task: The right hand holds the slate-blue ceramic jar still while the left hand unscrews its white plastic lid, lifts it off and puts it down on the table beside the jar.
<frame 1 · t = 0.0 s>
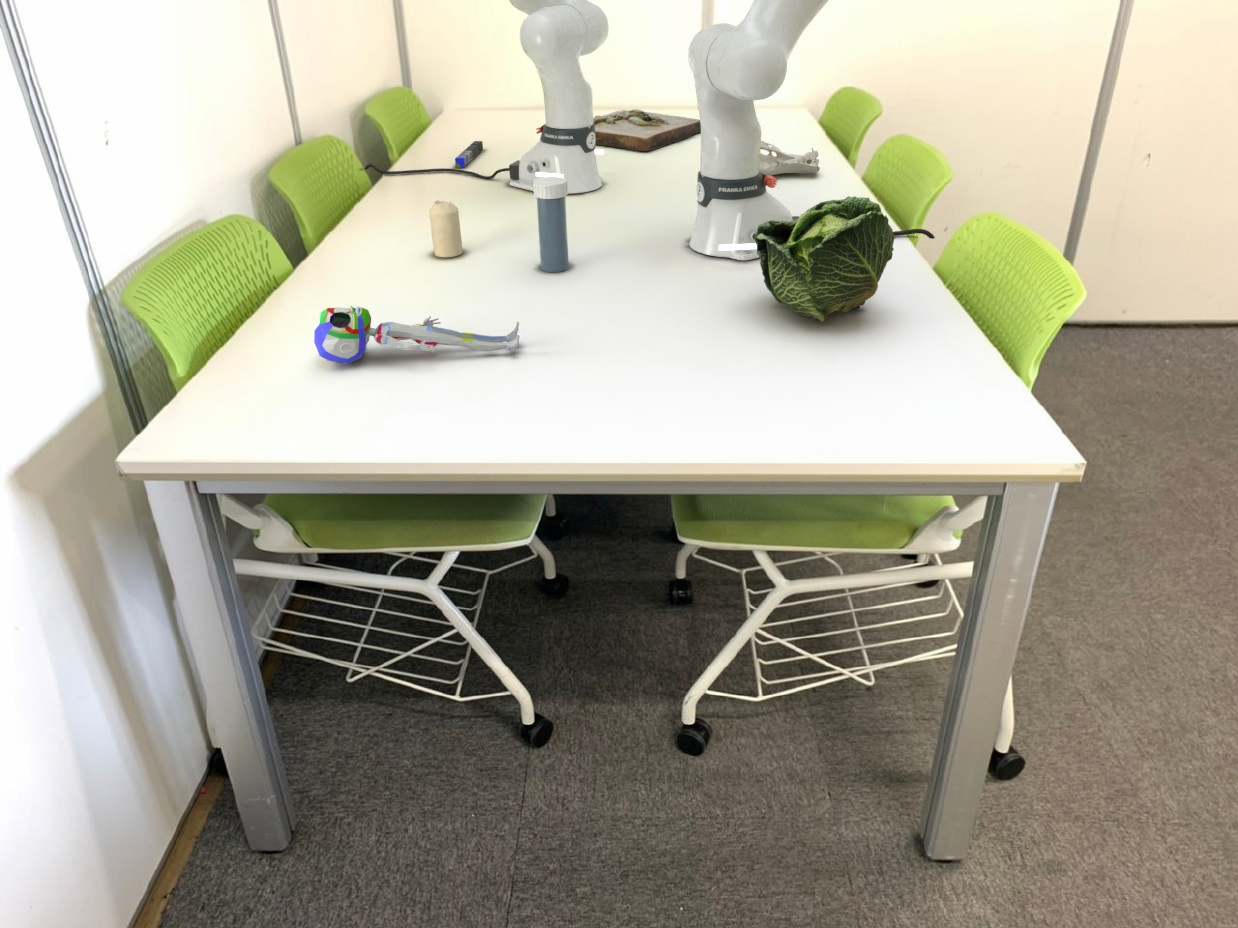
lid: (550, 183, 159), point 16 cm above the table, screwed on, not yet turned
jar: (554, 267, 168), on the table
vegetable: (819, 311, 148), on the table
anatomical model: (767, 173, 222), on the table
pillar: (469, 159, 239), on the table
candle: (448, 254, 175), on the table
toy: (421, 355, 136), on the table
plaque: (633, 136, 259), on the table
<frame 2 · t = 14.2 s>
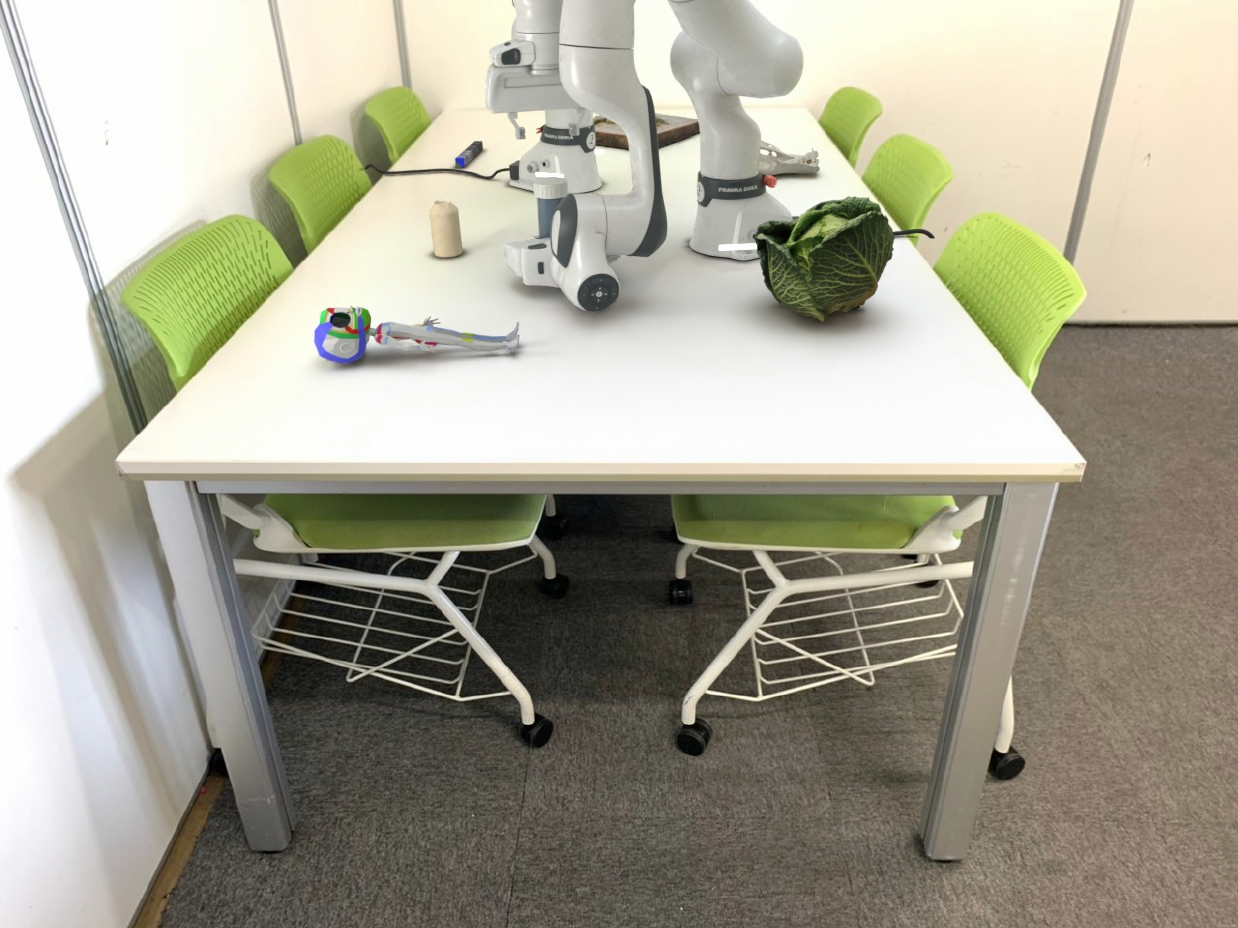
left hand: (547, 137, 155), 23 cm above the table, tool pointing down, fingers open, 8 cm apart
right hand: (551, 237, 165), 5 cm above the table, tool horizontal, fingers closed on jar, 5 cm apart
jar: (554, 267, 168), on the table, touching right hand
everything else where it was.
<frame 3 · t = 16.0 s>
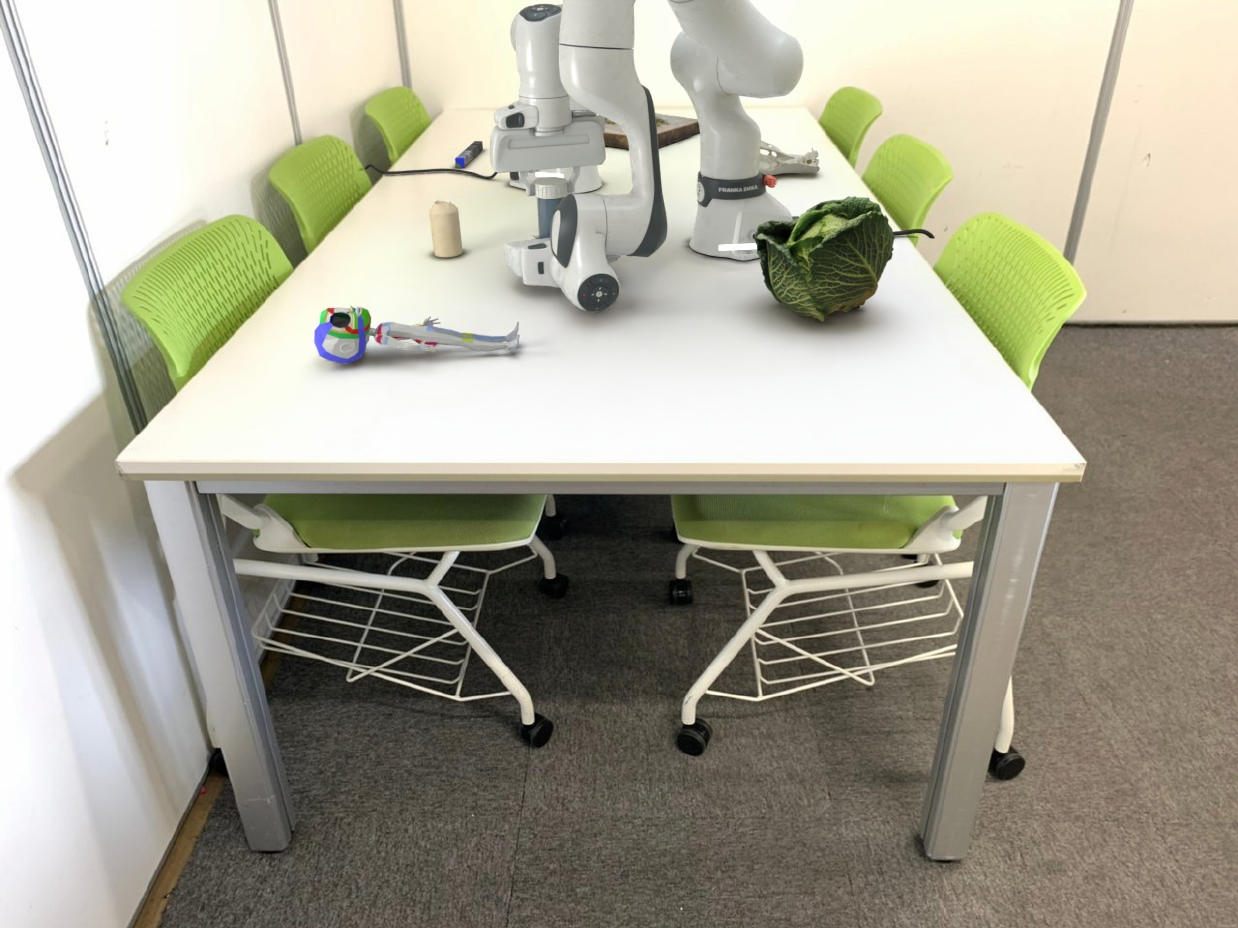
left hand: (550, 193, 160), 14 cm above the table, tool pointing down, fingers closed on lid, 6 cm apart
right hand: (551, 237, 165), 5 cm above the table, tool horizontal, fingers closed on jar, 5 cm apart
lid: (550, 183, 159), point 16 cm above the table, screwed on, not yet turned, touching left hand
jar: (554, 267, 168), on the table, touching right hand
everything else where it was.
when the left hand's fingers open (14 cm above the table, at t = 17.4 s): lid stays where it is, point 16 cm above the table.
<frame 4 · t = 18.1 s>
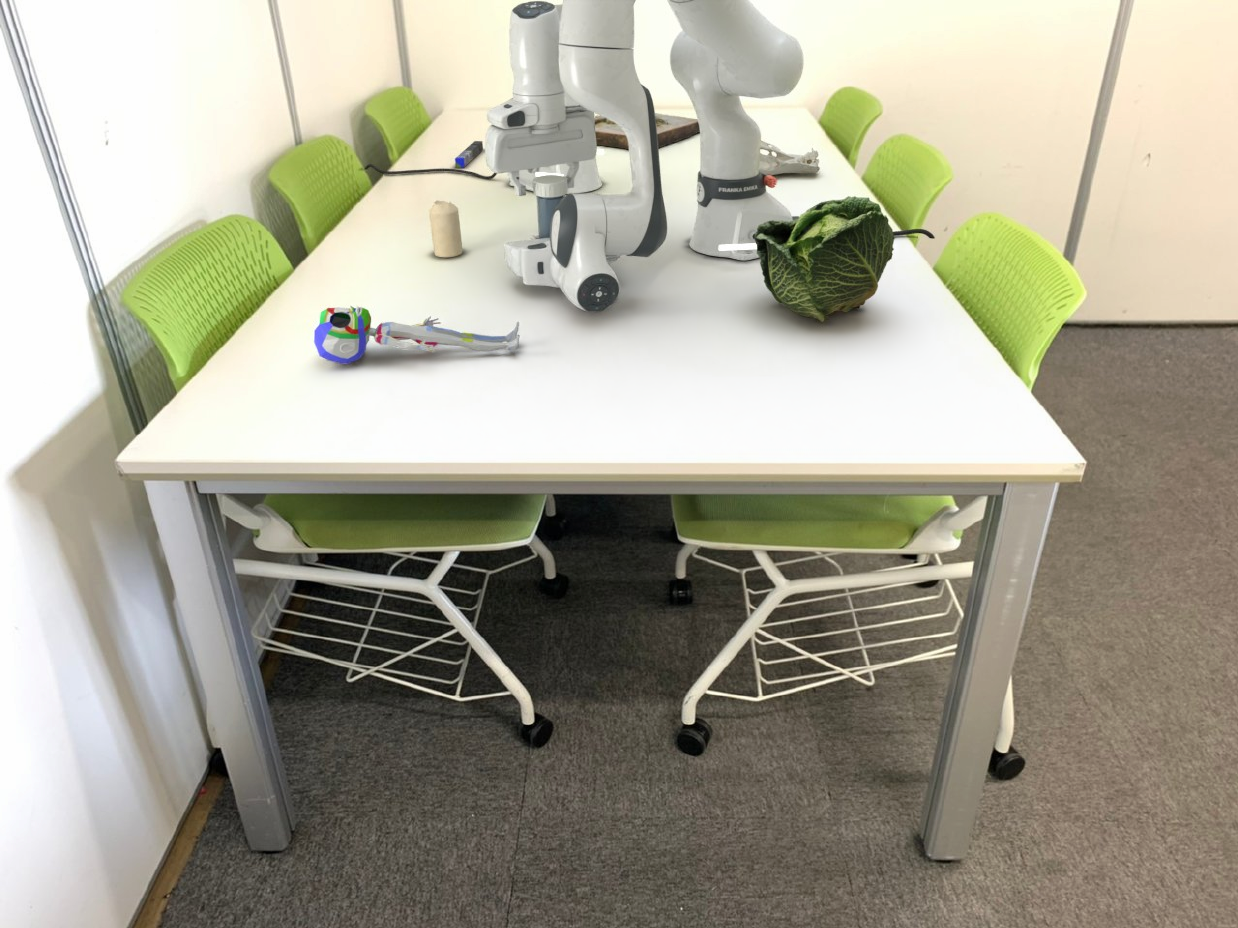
left hand: (544, 191, 160), 14 cm above the table, tool pointing down, fingers open, 8 cm apart
right hand: (551, 237, 166), 5 cm above the table, tool horizontal, fingers closed on jar, 5 cm apart
lid: (549, 181, 159), point 16 cm above the table, turned 87° so far, risen 0.3 cm, still on its thread
jar: (554, 267, 168), on the table, touching right hand
everything else where it was.
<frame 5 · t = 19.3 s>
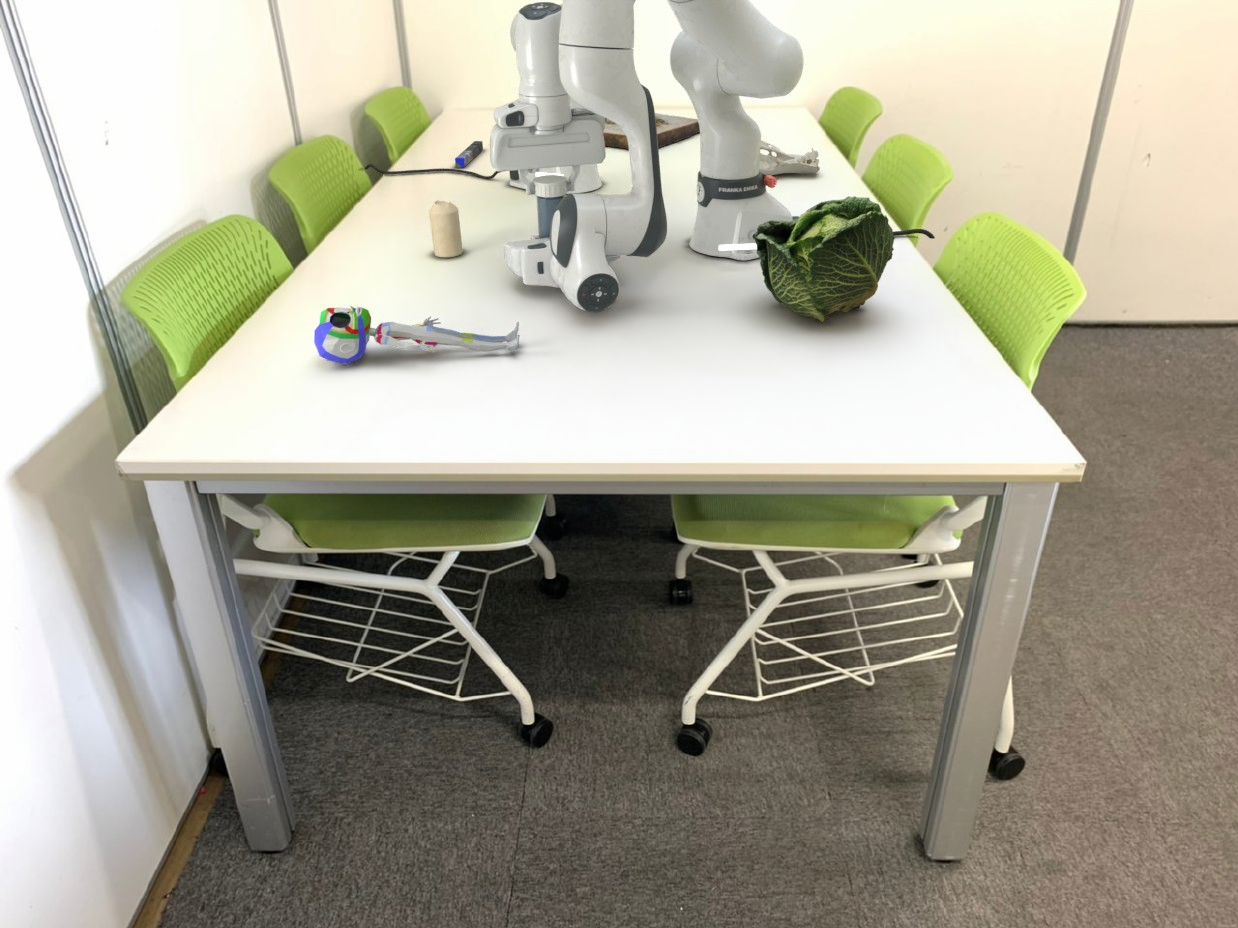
left hand: (550, 192, 160), 14 cm above the table, tool pointing down, fingers closed on lid, 6 cm apart
right hand: (551, 237, 166), 5 cm above the table, tool horizontal, fingers closed on jar, 5 cm apart
lid: (550, 181, 159), point 16 cm above the table, turned 87° so far, risen 0.3 cm, still on its thread, touching left hand
jar: (554, 267, 168), on the table, touching right hand
everything else where it was.
when the left hand's fingers open (2 cm above the table, at t = 26.9 s): lid drops 2 cm, point 2 cm above the table.
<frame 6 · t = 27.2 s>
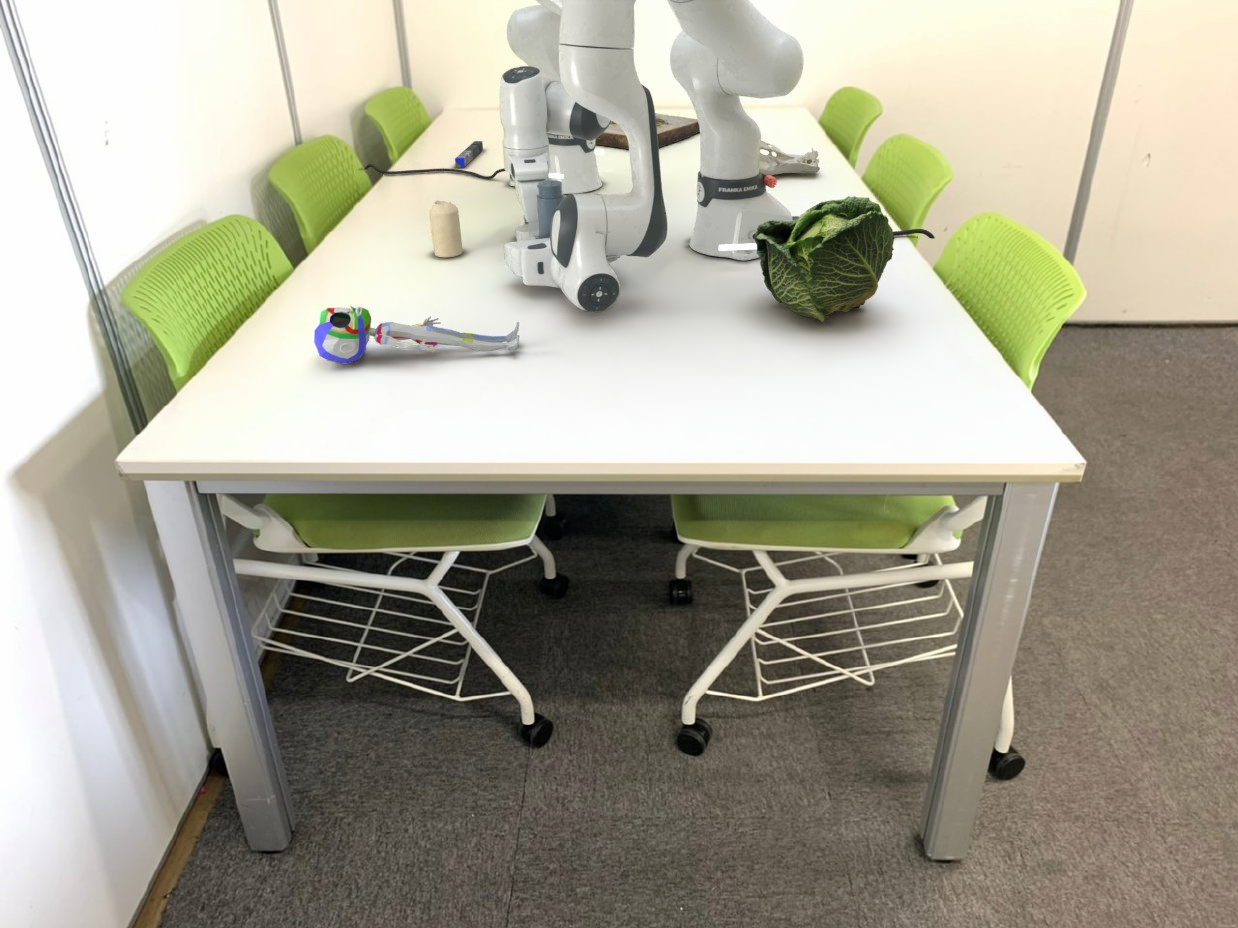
left hand: (531, 230, 180), 2 cm above the table, tool pointing down, fingers open, 8 cm apart
right hand: (551, 238, 165), 5 cm above the table, tool horizontal, fingers closed on jar, 5 cm apart
lid: (530, 229, 181), point 2 cm above the table, off its thread
jar: (554, 267, 168), on the table, touching right hand
everything else where it was.
when the right hand's fingers open (5 cm above the table, at t = 27.9 s): jar stays where it is, on the table.
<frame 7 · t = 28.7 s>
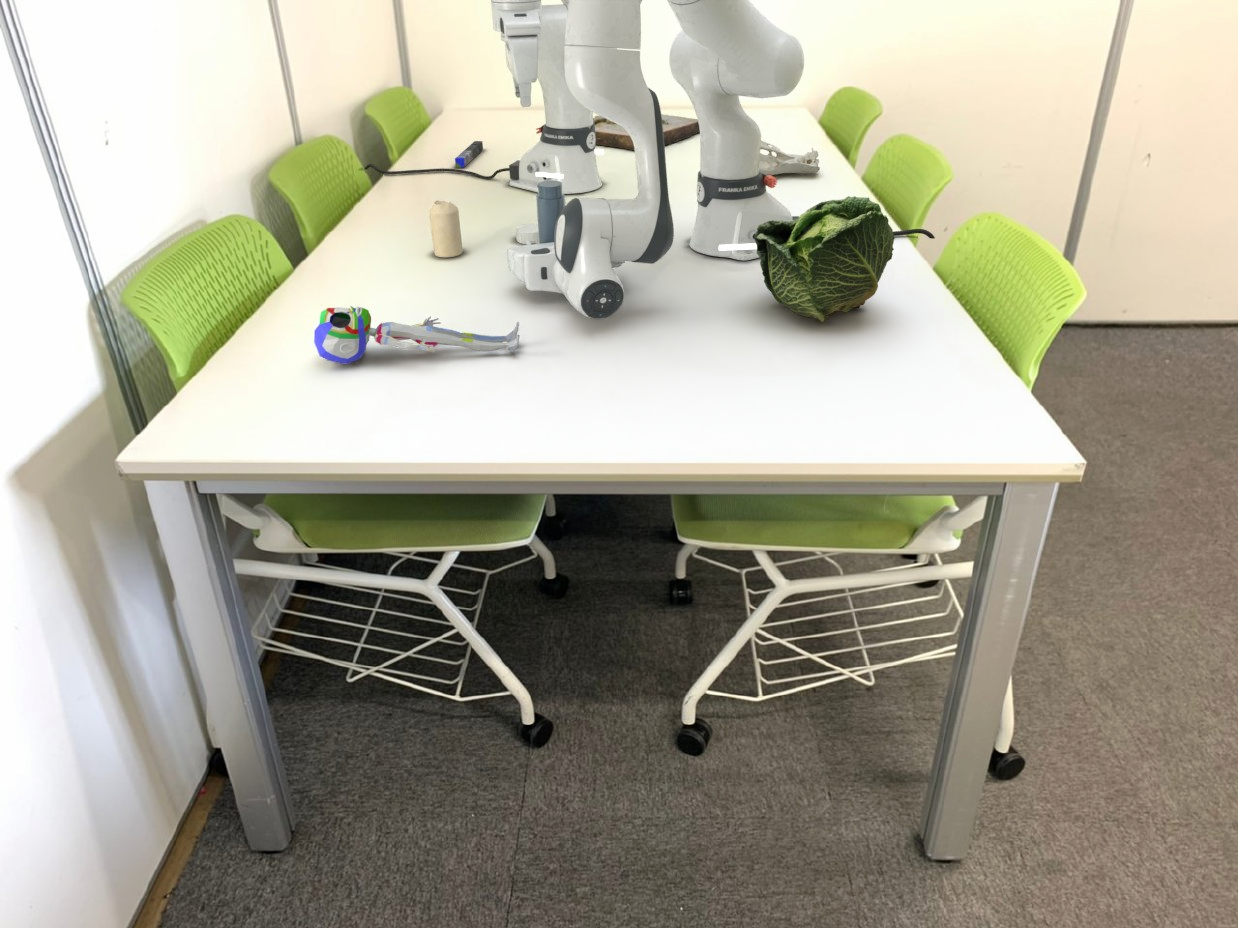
left hand: (523, 101, 167), 27 cm above the table, tool pointing down, fingers open, 8 cm apart
right hand: (555, 242, 163), 6 cm above the table, tool horizontal, fingers open, 8 cm apart
jar: (554, 267, 168), on the table
everything else where it was.
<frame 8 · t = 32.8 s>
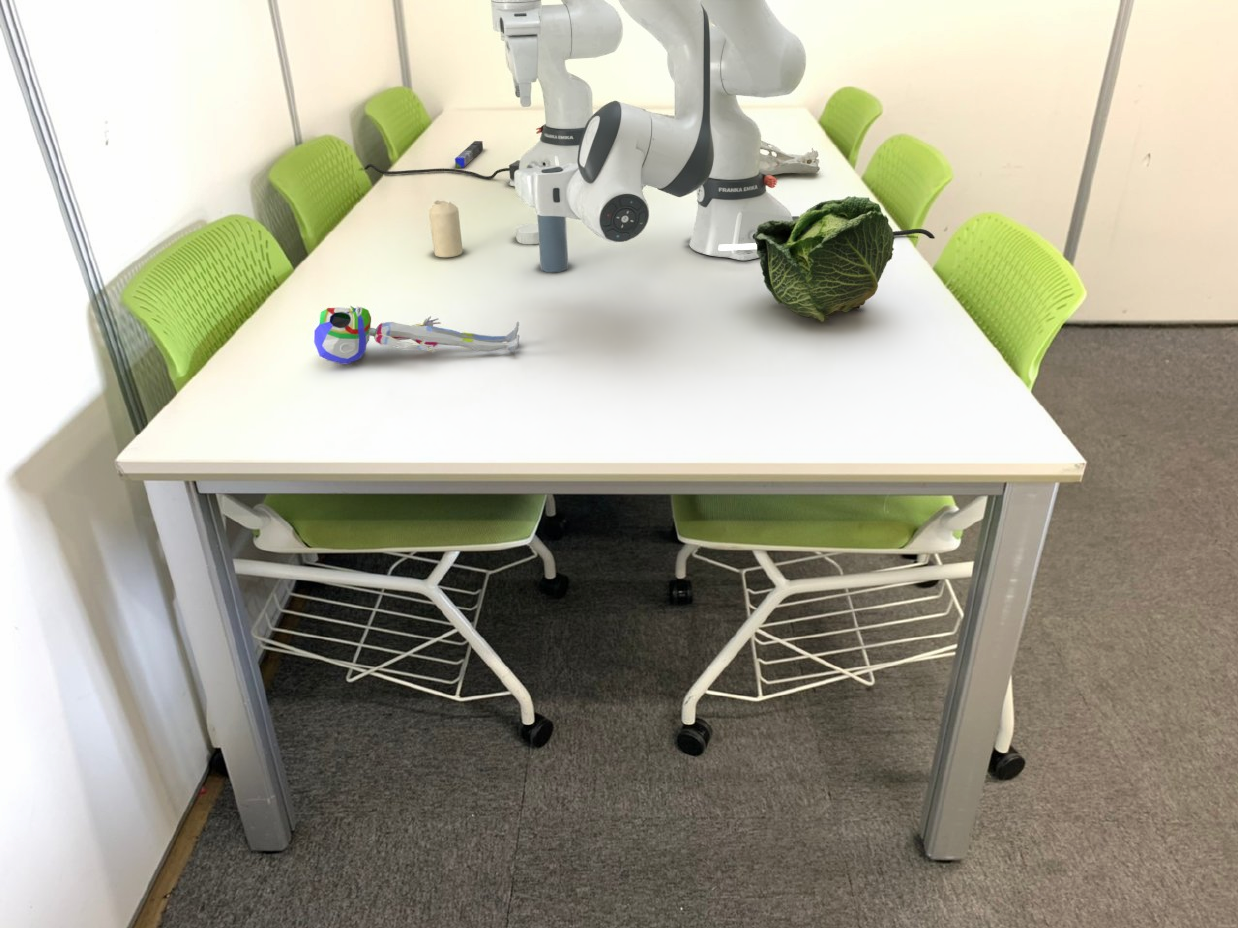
left hand: (523, 101, 166), 27 cm above the table, tool pointing down, fingers open, 8 cm apart
right hand: (567, 167, 146), 21 cm above the table, tool horizontal, fingers open, 8 cm apart
nothing on the table moved.
at the end: lid came off its thread; lid point 2.1 cm above the table; the left hand is holding nothing; the right hand is holding nothing; jar tilted 0°; jar moved 0.2 cm from its start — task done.
